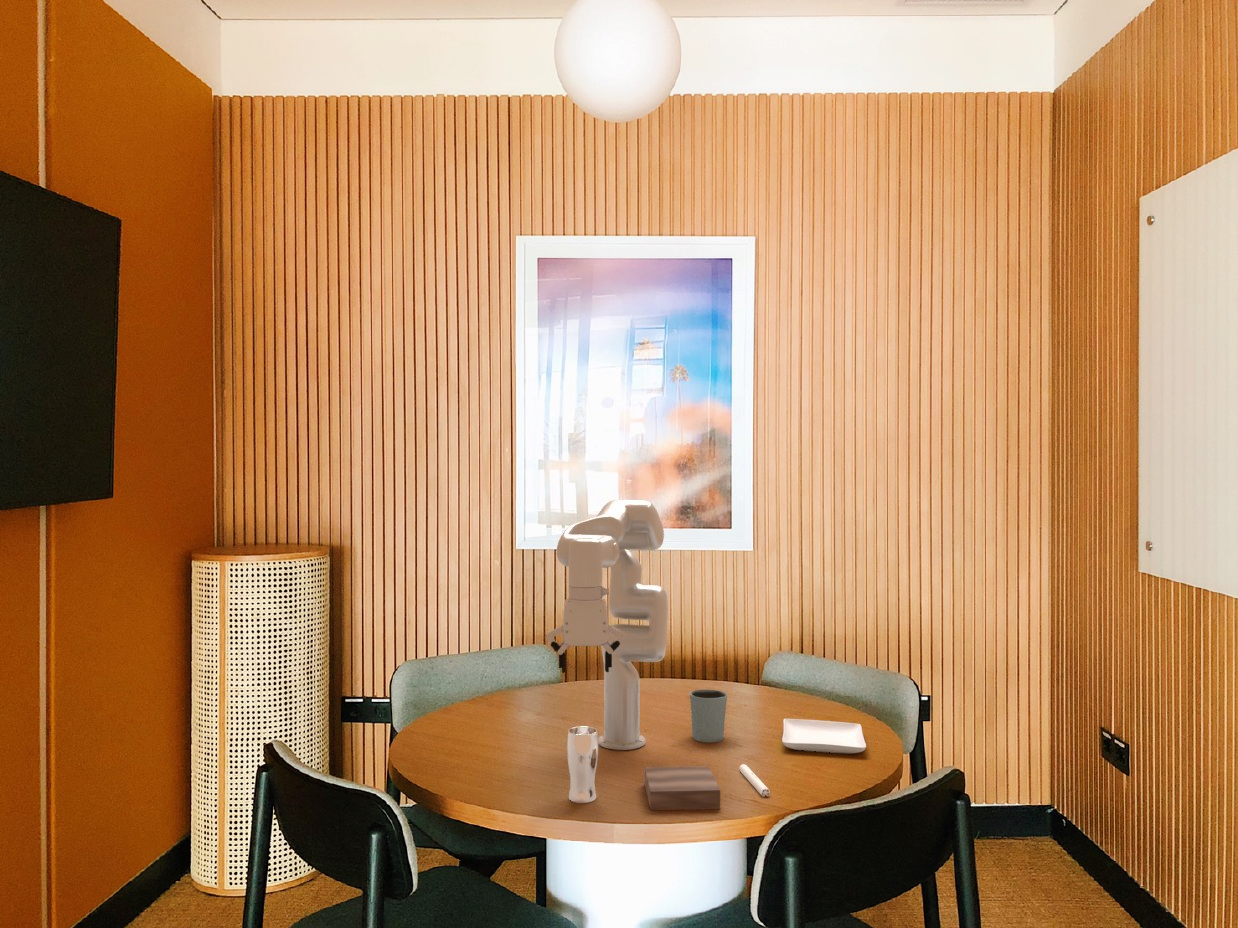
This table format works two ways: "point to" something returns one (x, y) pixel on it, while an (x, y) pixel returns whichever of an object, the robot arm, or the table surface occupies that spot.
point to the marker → (754, 780)
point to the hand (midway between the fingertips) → (585, 671)
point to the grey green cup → (708, 715)
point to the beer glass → (582, 763)
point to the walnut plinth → (681, 788)
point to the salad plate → (823, 736)
